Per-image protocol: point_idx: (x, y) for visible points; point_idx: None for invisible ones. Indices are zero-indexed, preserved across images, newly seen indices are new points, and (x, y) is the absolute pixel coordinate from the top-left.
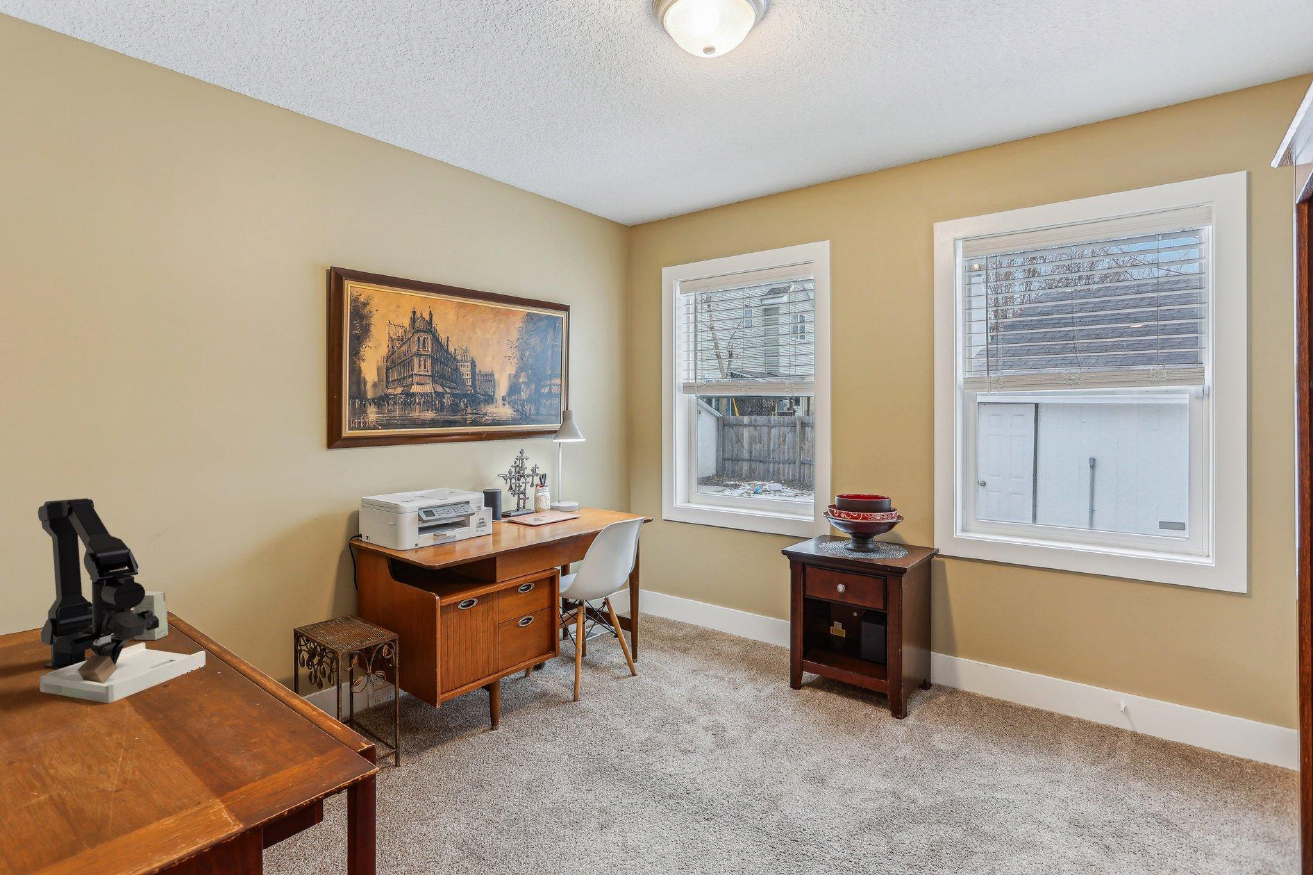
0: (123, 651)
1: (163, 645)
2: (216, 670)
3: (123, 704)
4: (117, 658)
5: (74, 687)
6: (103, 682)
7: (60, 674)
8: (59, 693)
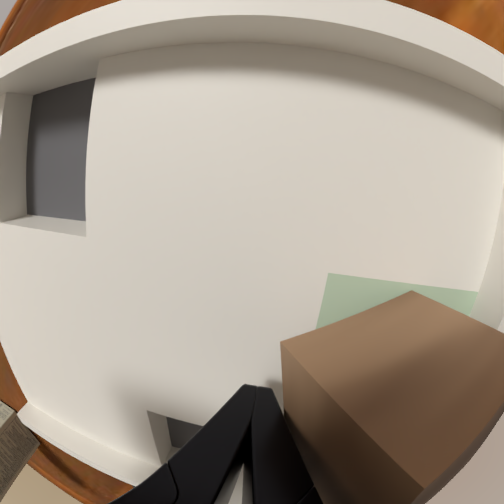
0: (74, 446)
1: (6, 381)
2: (44, 3)
3: (473, 29)
4: (199, 440)
5: None
6: (413, 292)
7: None
8: None
